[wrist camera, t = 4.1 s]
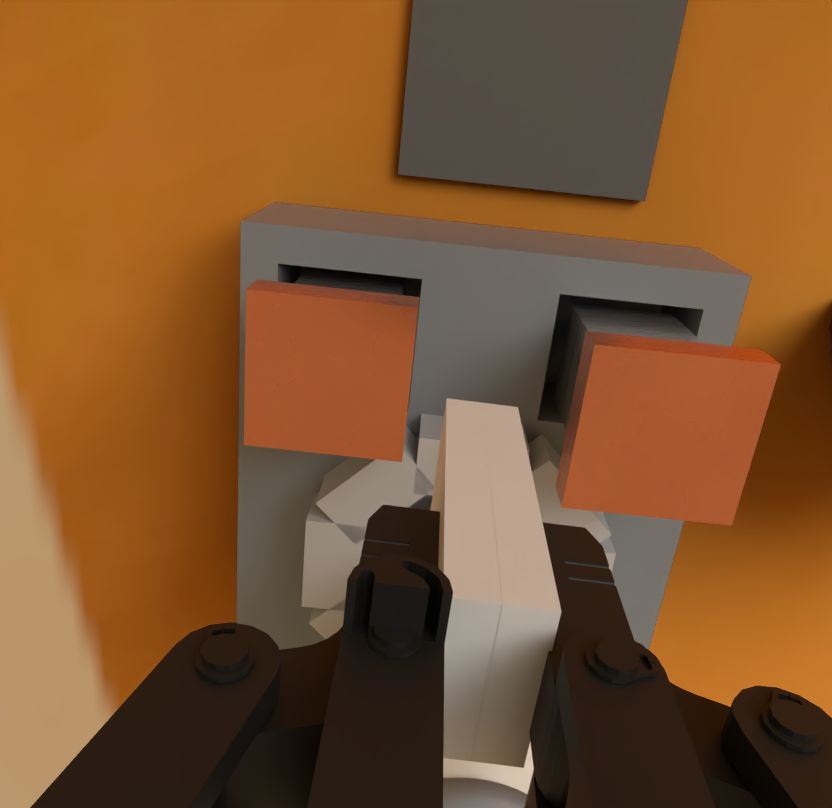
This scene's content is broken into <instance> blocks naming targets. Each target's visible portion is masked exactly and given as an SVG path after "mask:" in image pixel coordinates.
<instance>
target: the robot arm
mask: <svg viewBox="0 0 832 808" xmlns="http://www.w3.org/2000/svg"><path fill="white" fill-rule="evenodd" d="M614 583H615V581H614V578H613V575H612V572H611V569H609V563H608V560H607V557H606V554H605V552H604V549H603V546H602V545H601V544H600V543H599V542H598V541H597V540H596V539H595V537H594V536H593V535H592V534H591V533H590V532H589V531H588V530H587V529H586V528H584V527H576V526H568V525H560V524H552V523H544V522H542V518H541V513H540V508H539V504H538V499H537V494H536V490H535V485H534V480H533V476H532V471H531V466H530V461H529V457H528V452H527V447H526V443H525V438H524V433H523V429H522V424H521V419H520V415H519V410H518V407H513V406H505V405H497V404H489V403H481V402H473V401H465V400H457V399H449V398H447V399H446V406H445V413H444V420H443V426H442V433H441V440H440V447H439V454H438V461H437V468H436V475H435V482H434V489H433V496H432V503H431V509H430V510H423V509H415V508H407V507H399V506H391V505H382V506H381V507H380V508H379V509H378V510H377V511H376V512H375V513H374V514H373V515H372V516H371V517H370V518H369V519H368V522H367V527H366V532H365V537H364V542H363V547H362V552H361V557H360V562H359V564H358V565H357V566H355V567H354V568H353V570H352V572H351V574H350V575H349V577H348V579H347V589H346V599H345V609H344V620H343V626H342V627H341V628H340V630H339V631H338V632H336V633H335V634H333V635H332V636H330V637H329V638H328V639H325V640H323V641H320V642H318V643H316V644H312V645H307V646H303V647H297V648H289V649H281V650H279V648H278V645H277V644H276V643H275V642H274V640H273V639H272V638H271V637H270V636H269V635H268V634H267V633H265V632H263V631H261V630H259V629H257V628H255V627H253V626H250V625H244V624H237V623H223V624H214V625H209V626H206V627H204V628H201V629H199V630H196V631H193V632H191V633H190V634H188V635H187V636H186V637H185V638H183V639H182V640H181V641H179V642H178V643H177V644H176V645H175V646H174V647H173V648H172V649H171V650H170V651H169V653H168V654H167V655H166V656H165V657H164V658H163V659H162V660H161V662H160V663H159V664H158V665H157V666H156V667H155V668H154V669H153V671H152V672H151V673H150V674H149V675H148V676H147V677H146V678H145V680H144V681H143V682H142V683H141V684H140V685H139V686H138V687H137V689H136V690H135V691H134V692H133V693H132V694H131V695H130V696H129V698H128V699H127V700H126V701H125V702H124V703H123V704H122V705H121V707H120V708H119V709H118V710H117V711H116V712H115V713H114V714H113V715H112V717H111V718H110V719H109V720H108V721H107V722H106V723H105V724H104V726H103V727H102V728H101V729H100V730H99V731H98V732H97V733H96V735H95V736H94V737H93V738H92V739H91V740H90V742H88V744H87V745H86V746H85V747H84V748H83V749H82V750H81V751H80V753H79V754H78V755H77V756H76V757H75V758H74V759H73V760H72V762H71V763H70V764H69V765H68V766H67V767H66V768H65V770H64V771H63V772H62V773H61V774H60V775H59V776H58V777H57V779H56V780H55V781H54V782H53V783H52V784H51V785H50V786H49V787H48V789H47V790H46V791H45V792H44V793H43V794H42V795H41V796H40V797H39V799H38V800H37V801H36V802H35V803H34V804H33V805H32V807H31V808H443V758H448V759H456V760H464V761H472V762H480V763H488V764H496V765H504V766H512V767H520V768H524V765H525V761H526V757H527V752H528V748H529V744H530V742H531V750H532V759H533V767H534V770H533V774H532V778H531V782H530V786H529V790H528V794H527V798H526V802H525V806H524V808H832V718H831V717H830V716H829V715H827V714H826V713H825V712H824V711H823V710H822V709H821V708H820V707H818V706H816V705H814V704H813V703H811V702H809V701H808V700H806V699H804V698H803V697H801V696H799V695H797V694H794V693H791V692H788V691H785V690H782V689H779V688H776V687H765V686H754V687H751V688H747V689H743V690H741V692H740V693H739V694H738V695H737V696H736V697H735V699H734V700H733V703H732V705H731V707H729V706H726V705H723V704H720V703H718V702H715V701H712V700H709V699H707V698H704V697H701V696H698V695H695V694H693V693H691V692H688V691H686V690H684V689H681V688H679V687H677V686H675V685H674V684H672V683H671V682H669V680H668V677H667V674H666V672H665V670H664V668H663V667H662V665H661V663H660V662H659V660H658V659H657V657H656V656H655V655H654V654H652V653H651V652H650V651H649V650H648V649H647V648H645V647H644V646H643V645H642V644H640V643H638V642H636V641H634V638H633V635H632V632H631V629H630V626H629V623H628V620H627V617H626V614H625V611H624V608H623V605H622V602H621V599H620V596H619V593H618V590H617V587H616V586H614Z"/></svg>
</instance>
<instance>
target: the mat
mask: <svg viewBox="0 0 832 808" xmlns="http://www.w3.org/2000/svg"><path fill="white" fill-rule="evenodd" d="M687 1H688V0H413V8H412V19H411V31H410V42H409V53H408V65H407V76H406V88H405V99H404V111H403V122H402V133H401V145H400V156H399V168H398V174H399V175H408V176H417V177H427V178H436V179H445V180H454V181H464V182H473V183H482V184H491V185H500V186H510V187H519V188H528V189H537V190H546V191H556V192H565V193H574V194H583V195H592V196H602V197H611V198H620V199H629V200H639V201H645V199H646V194H647V189H648V185H649V180H650V175H651V171H652V166H653V161H654V157H655V152H656V147H657V142H658V138H659V133H660V128H661V124H662V119H663V114H664V109H665V105H666V100H667V95H668V91H669V86H670V81H671V76H672V72H673V67H674V62H675V58H676V53H677V48H678V43H679V39H680V34H681V29H682V25H683V20H684V15H685V10H686V6H687Z"/></svg>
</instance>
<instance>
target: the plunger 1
mask: <svg viewBox="0 0 832 808" xmlns="http://www.w3.org/2000/svg"><path fill="white" fill-rule="evenodd" d="M405 281H406V277H398V276H389V275H380V274H370V273H361V272H352V271H343V270H333V269H324V268H315V267H308V268H307V269H306V270H305V272H304V273H303V274H302V275H301V276H300V277H299V278H298V280H297V281H296V282H295V283H284V282H275V281H266V280H256V281H255V282H254V283H252V284H251V285H250V286H249V287H248V288H247V289H246V328H245V402H244V445H247V446H256V447H266V448H275V449H284V450H294V451H303V452H312V453H322V454H331V455H340V456H350V457H359V458H368V459H378V460H387V461H396V462H402V459H403V450H404V442H405V432H406V423H407V413H408V404H409V394H410V384H411V375H412V365H413V356H414V346H415V337H416V327H417V318H418V308H419V299H420V297H414V296H405V295H404V291H405Z"/></svg>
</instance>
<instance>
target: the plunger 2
mask: <svg viewBox="0 0 832 808" xmlns="http://www.w3.org/2000/svg"><path fill="white" fill-rule="evenodd" d="M780 367H781V364H780V363H778V362H777V361H776V360H775V359H773V358H772V357H771V356H769V355H768V354H767V353H765V352H764V351H763V350H761V349H751V348H742V347H733V346H723V345H714V344H705V343H703V342H702V341H701V340H700V339H699V338H698V337H697V336H696V335H694V334H693V333H692V332H691V331H690V330H689V329H688V328H687V327H686V326H684V325H683V324H682V323H681V322H680V321H679V320H678V319H677V318H676V317H675V316H673V315H672V314H662V313H653V312H644V311H635V310H625V309H616V308H607V307H598V306H588V305H579V304H571V306H570V311H569V317H568V322H567V327H566V333H565V338H564V344H563V349H562V354H561V360H560V365H559V371H558V376H557V382H556V387H555V392H554V401H555V404H556V406H557V409H558V412H559V414H560V417H561V420H562V422H563V425H564V428H565V430H566V435H565V440H564V445H563V450H562V455H561V460H560V465H559V471H558V476H557V481H556V486H555V487H556V490H557V493H558V497H559V500H560V504H561V507H562V508H570V509H579V510H589V511H598V512H607V513H617V514H626V515H635V516H645V517H654V518H663V519H673V520H682V521H691V522H701V523H710V524H719V525H729V526H732V524H733V521H734V517H735V514H736V511H737V507H738V504H739V501H740V498H741V494H742V491H743V488H744V485H745V481H746V478H747V475H748V471H749V468H750V465H751V462H752V458H753V455H754V452H755V448H756V445H757V442H758V439H759V435H760V432H761V429H762V426H763V422H764V419H765V416H766V412H767V409H768V406H769V403H770V399H771V396H772V393H773V389H774V386H775V383H776V380H777V376H778V373H779V370H780Z"/></svg>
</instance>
